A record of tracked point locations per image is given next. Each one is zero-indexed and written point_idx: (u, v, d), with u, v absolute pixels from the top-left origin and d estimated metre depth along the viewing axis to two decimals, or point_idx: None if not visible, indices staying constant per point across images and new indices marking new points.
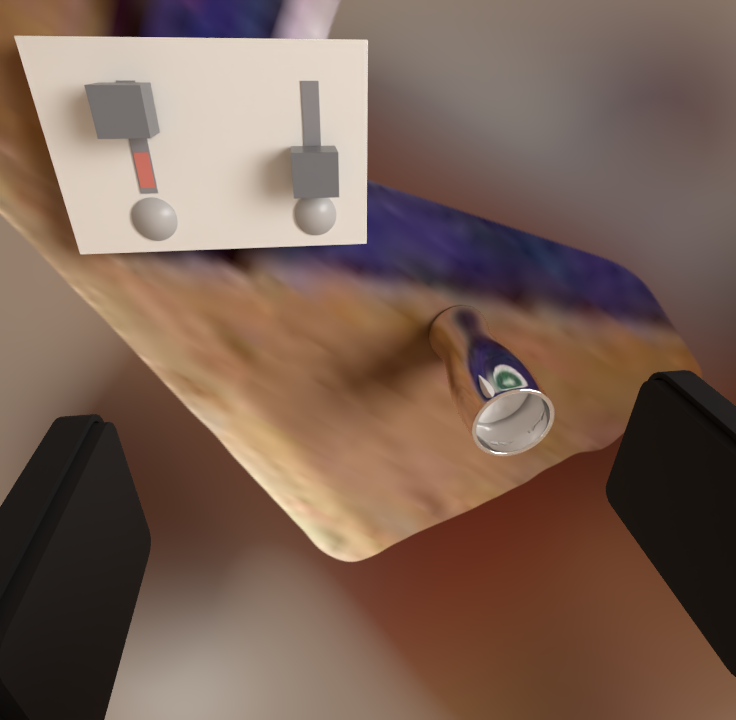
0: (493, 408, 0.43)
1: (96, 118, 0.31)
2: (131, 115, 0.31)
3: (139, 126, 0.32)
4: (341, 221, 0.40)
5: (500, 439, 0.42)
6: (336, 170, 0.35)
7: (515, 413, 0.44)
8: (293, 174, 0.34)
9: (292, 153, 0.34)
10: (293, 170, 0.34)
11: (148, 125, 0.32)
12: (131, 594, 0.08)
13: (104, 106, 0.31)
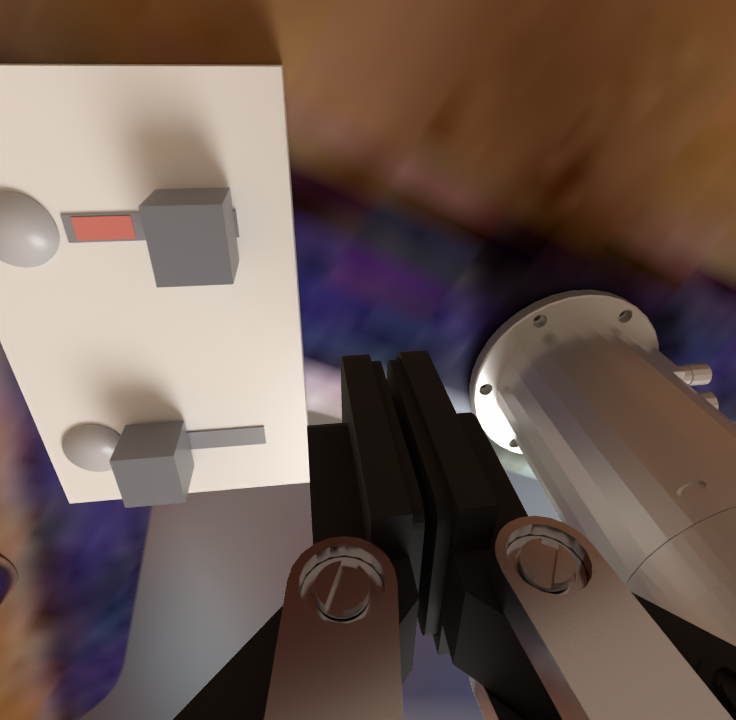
0: None
1: (172, 211, 0.19)
2: (187, 265, 0.20)
3: (172, 274, 0.20)
4: (93, 475, 0.28)
5: None
6: (161, 502, 0.26)
7: None
8: (144, 459, 0.24)
9: (173, 457, 0.25)
10: (150, 459, 0.24)
11: (177, 284, 0.20)
12: None
13: (194, 228, 0.19)
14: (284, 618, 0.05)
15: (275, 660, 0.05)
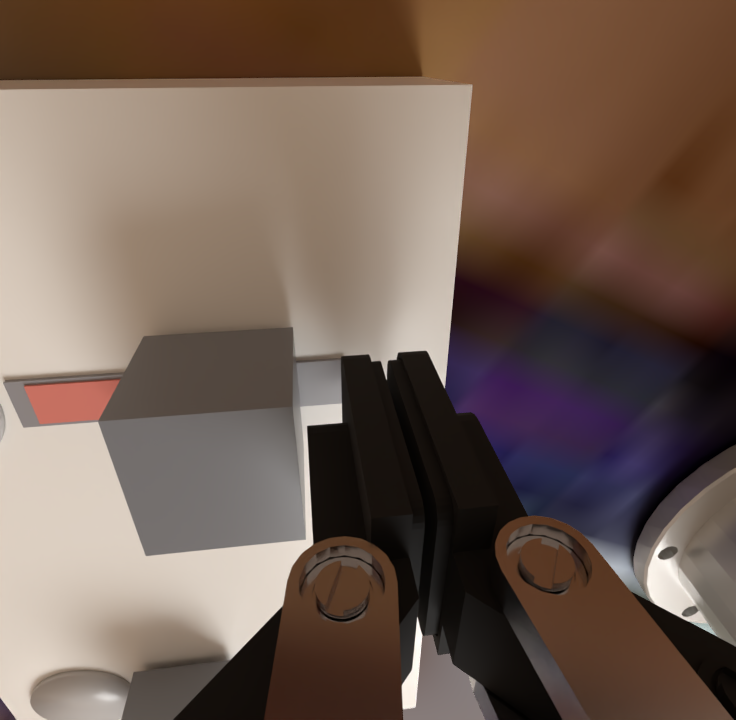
0: None
1: (178, 426, 0.08)
2: (210, 517, 0.09)
3: (178, 533, 0.09)
4: None
5: None
6: None
7: None
8: None
9: None
10: None
11: (189, 541, 0.10)
12: None
13: (228, 453, 0.08)
14: (284, 618, 0.05)
15: (275, 660, 0.05)
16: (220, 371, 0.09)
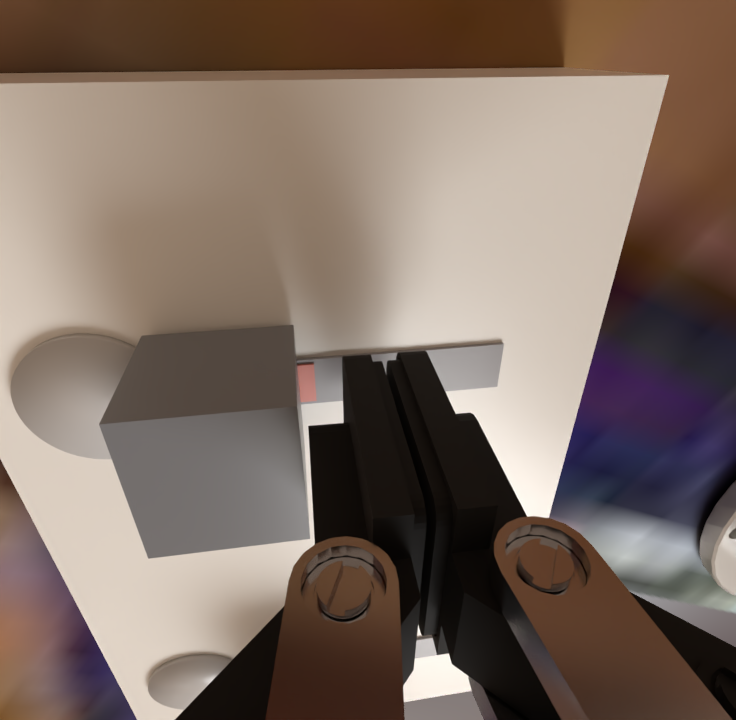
0: None
1: (181, 428, 0.08)
2: (213, 518, 0.09)
3: (181, 535, 0.09)
4: None
5: None
6: None
7: None
8: None
9: None
10: None
11: (192, 543, 0.10)
12: None
13: (231, 454, 0.08)
14: (285, 618, 0.05)
15: (276, 660, 0.05)
16: (221, 371, 0.09)
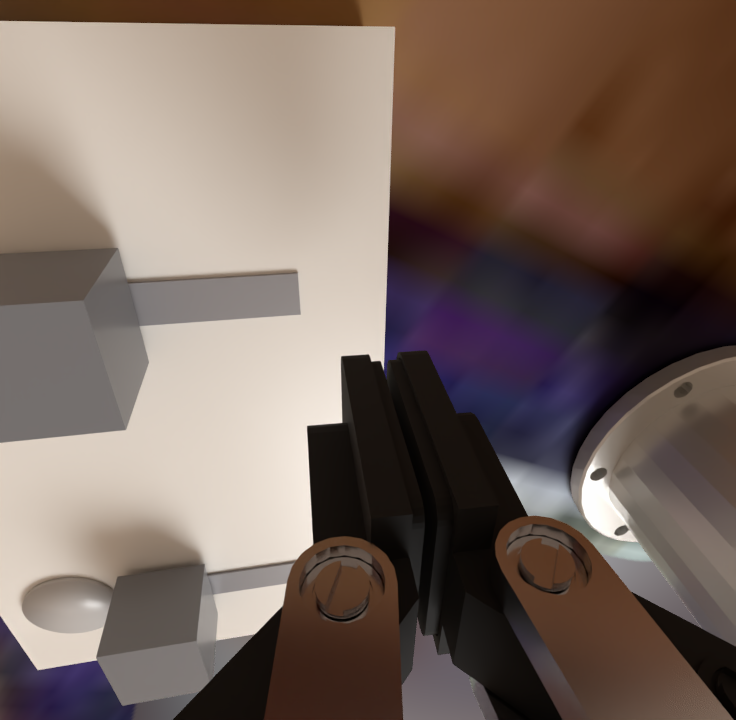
0: None
1: None
2: (30, 407, 0.10)
3: (4, 422, 0.11)
4: (71, 635, 0.20)
5: None
6: (176, 693, 0.17)
7: None
8: (151, 650, 0.16)
9: (195, 641, 0.16)
10: (160, 648, 0.16)
11: (20, 434, 0.11)
12: None
13: (33, 344, 0.10)
14: (283, 618, 0.05)
15: (274, 660, 0.05)
16: (33, 278, 0.10)
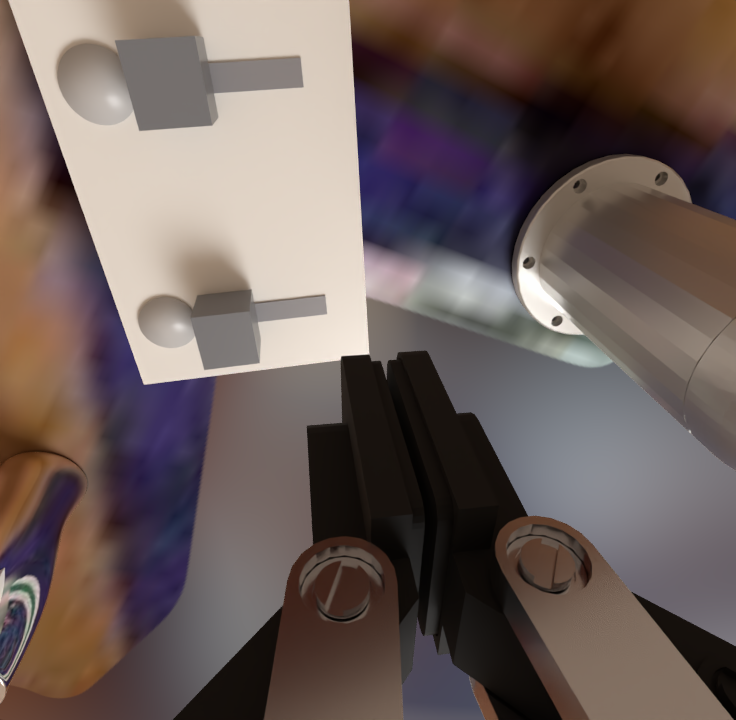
0: None
1: (148, 45, 0.20)
2: (166, 105, 0.21)
3: (153, 115, 0.21)
4: (166, 353, 0.30)
5: None
6: (237, 363, 0.28)
7: None
8: (222, 315, 0.26)
9: (249, 312, 0.26)
10: (227, 315, 0.26)
11: (158, 128, 0.21)
12: None
13: (170, 63, 0.20)
14: (284, 618, 0.05)
15: (275, 660, 0.05)
16: None
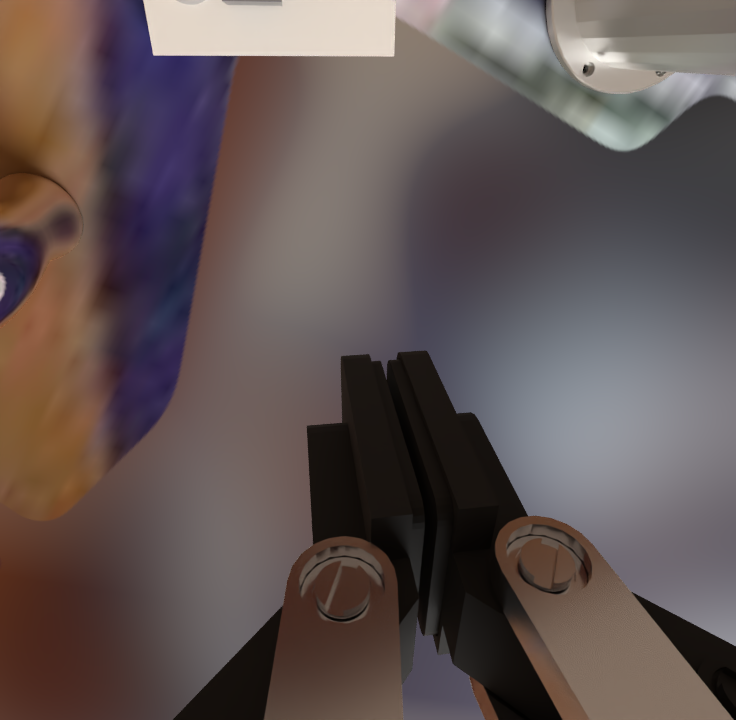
0: None
1: None
2: None
3: None
4: (180, 13, 0.28)
5: None
6: None
7: None
8: None
9: None
10: None
11: None
12: None
13: None
14: (284, 618, 0.05)
15: (275, 660, 0.05)
16: None
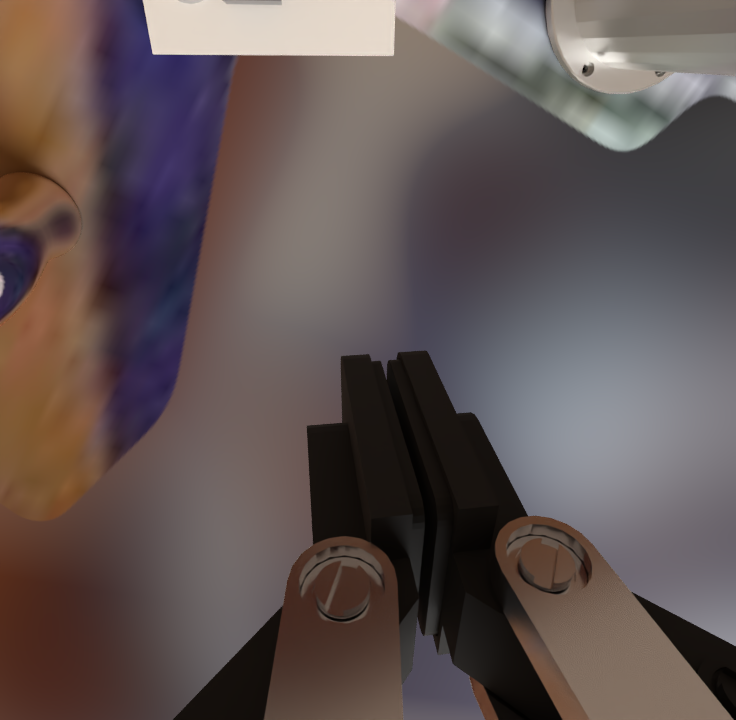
0: None
1: None
2: None
3: None
4: (180, 12, 0.28)
5: None
6: None
7: None
8: None
9: None
10: None
11: None
12: None
13: None
14: (284, 618, 0.05)
15: (275, 660, 0.05)
16: None
